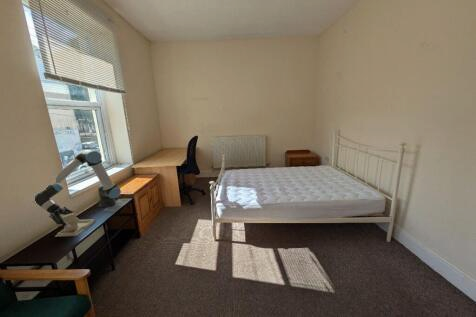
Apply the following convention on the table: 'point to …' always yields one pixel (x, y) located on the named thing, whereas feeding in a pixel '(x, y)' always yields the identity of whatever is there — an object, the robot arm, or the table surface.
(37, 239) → the table surface
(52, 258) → the table surface
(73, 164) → the robot arm
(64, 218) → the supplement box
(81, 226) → the keyhole tray
